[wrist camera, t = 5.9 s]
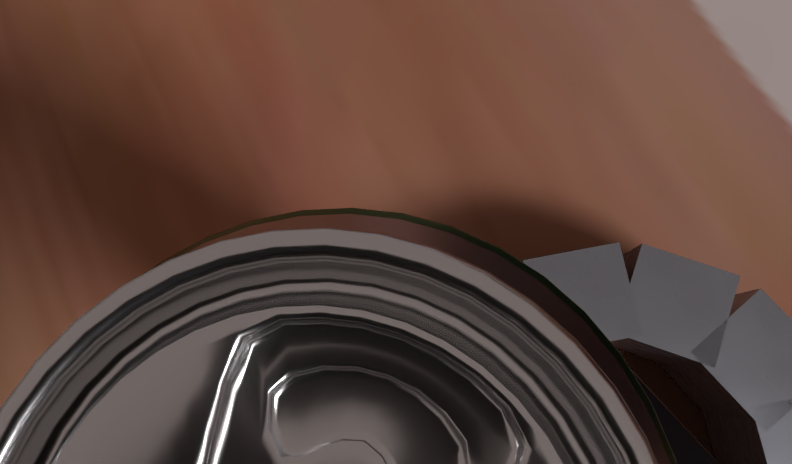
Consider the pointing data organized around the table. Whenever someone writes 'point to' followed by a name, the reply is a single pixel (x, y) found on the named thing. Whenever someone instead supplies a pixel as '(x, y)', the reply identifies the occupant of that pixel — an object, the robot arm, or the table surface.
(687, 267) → the ring
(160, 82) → the table surface
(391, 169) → the table surface
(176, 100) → the table surface
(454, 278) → the soda can
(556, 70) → the table surface
